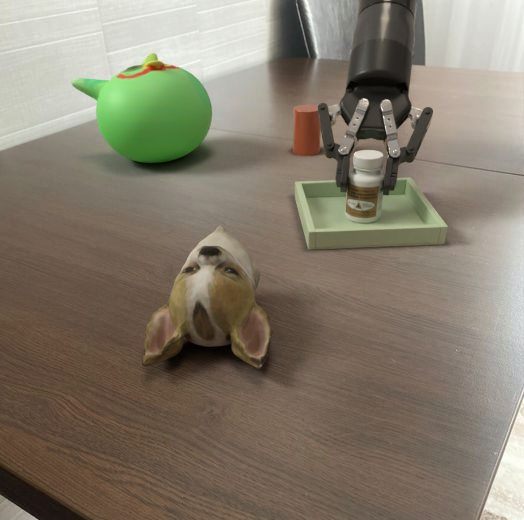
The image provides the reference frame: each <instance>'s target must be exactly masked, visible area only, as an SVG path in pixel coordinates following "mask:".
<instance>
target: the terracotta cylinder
mask: <svg viewBox="0 0 524 520" xmlns="http://www.w3.org/2000/svg"><path fill="white" fill-rule="evenodd" d="M292 114H293V124H292V153H293V154H295V155H297V156H302V157H303V156H304V157H305V156H306V157H307V156H310V157H311V156H315V155H318V154H319V153H320V152H321V138H322V134H321V129H320V123H319V116H318V105H315V104H300V105H296V106H293V113H292Z"/></svg>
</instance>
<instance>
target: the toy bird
mask: <svg viewBox="0 0 524 520" xmlns="http://www.w3.org/2000/svg"><path fill="white" fill-rule="evenodd" d="M70 84H71V86H72V87H73V88H75V89H76V90H77V91H79V92H81V93H83V94H85V95H86V96H88V97H90V98H92V99H94V100H95V101H97V102H96V107H95V108H96V109H95V116H96V122H97V126H98V129H99V131H100V134H101V135H102V137H103V139H104V140H105V142H106V143H107V144H108V145H109V147H110V148H111V149H112V150H114V152H116V153H117V154H119V155H120V156H122V157H124V158H126V159H128V160H131V161H133V162H137V163H144V164H160V163H167V162H172V161H175V160H177V159H180V158H182V157H184V156H187V155H189V154H190V153H192V152H193V151H194V150H195V149H197V148H198V147H199V146H200V145H201V144H202V143H203V141H204V140H205V139H206V138H207V136H208V134H209V131H210V128H211V125H212V118H213V107H212V106H213V105H212V101H211V98H210V96H209V93H208V92H207V90H206V88H205V86H204V85H203V83H201V81H200V80H199V79H198V78H197V77H196V76H195V75H194V74H192V73H191V72H190V71H188V70H187V69H184V68H182V67H180V66H176V65H174V64H169V63H164V62H163V61H161V60H159V58H158V55H157V54H156V53H154V52H153V53H150V54H148V56H146V57H145V58H144V60H143V61H142V62H141V64H138V65H137V64H136V65H132V66H129V67H127V68H126V69H124V70H122V71H120V72H118V73H117V74H115V75H114V76H112V77H111V78H109V79H108V80H107V79H96V78H74V79H72V80H71V81H70Z"/></svg>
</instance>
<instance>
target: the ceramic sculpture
mask: <svg viewBox="0 0 524 520" xmlns="http://www.w3.org/2000/svg"><path fill="white" fill-rule="evenodd" d="M260 280H261V272H260V268H259V267H258V266H257V265H256V263H255V261H254V260H253V257H252V256H251V255H250V253H249V251H248V250H247V249H246V248H245V246H244V245H242V243H241V242H240V241H239V240H238V239H237V238H235V237H234V235H232V234H230V232H228V231H227V229H226V227H225V226H223V225H219V226H217V227H216V228H215V230H214V231H212V232H211V234H208V235H207V236H206V237H205V238H202V240H200V241H199V242H198V244H197V245H196V246H195V247H194V248H193V249H192V251H190V253H189V255H188V257H187V259H186V260H185V263H184V264H183V266H182V267H181V269H180V272H179V273H178V274H177V276H176V277H175V279H174V281H173V286H172V289H171V291H170V295H169V299H168V301H167V303H166V304H164V305H163V306H161V307H159V308H158V309H156V310H155V311H154V312H153V313H152V314H151V317H150V319H149V322H148V323H147V325H146V326H145V329H144V330H145V332H144V339H143V341H144V343H143V357H142V359H141V365H142V366H143V367H150V366H153V365H155V364H159V363H161V362H164V361H167V360H169V359H171V358H173V357H176V356H177V355H178V354H179V353H180V352H181V351H182V349H183V347H184V340H185V339H186V340H187V341H189V342H190V343H192V344H194V345H197V346H202V347H207V348H208V347H209V348H211V347H213V348H214V347H223V346H228V345H231V351H232V353H233V355H234V356H235V357H237V358H239V359H240V360H242V361H243V362H245V363H246V364H249V366H252V367H254V368H255V369H257V370H260V369H262V367H263V366H264V364H265V362H266V361H267V359H268V357H269V354H270V350H271V349H270V348H271V343H272V339H273V338H272V337H273V328H272V326H271V318H270V316H269V314H268V312H267V311H266V310H265V309H263V307H261V306H260V305H258V303H257V302H256V299H255V298H256V290H257V288H258V286H259V282H260Z"/></svg>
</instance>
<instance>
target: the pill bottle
mask: <svg viewBox="0 0 524 520" xmlns="http://www.w3.org/2000/svg"><path fill="white" fill-rule="evenodd" d="M383 165H384V153H383V152H381V151H379V150H375V149H360V150H357V151H355V152H353V157H352V167H353V169H352V170H351V171H349V175H348V184H347V195H346V208H345V215H346V217H347V218H348V219H349V220H351V221H354V222H358V223H371V222H375V221H377V220H378V219H379V218H380V216H381V209H382V200H383V189H384V180H385V173H384V172H383V171H382V170H381V169H382V168H383Z"/></svg>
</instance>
